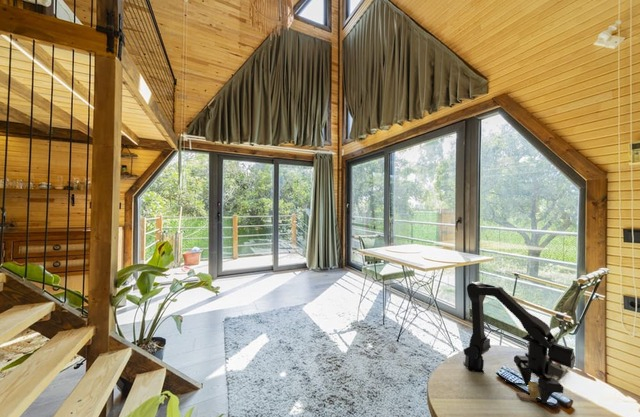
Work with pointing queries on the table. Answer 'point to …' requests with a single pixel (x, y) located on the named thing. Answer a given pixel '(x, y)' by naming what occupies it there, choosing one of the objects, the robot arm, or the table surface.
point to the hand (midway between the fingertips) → (535, 393)
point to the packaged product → (558, 366)
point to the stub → (532, 390)
